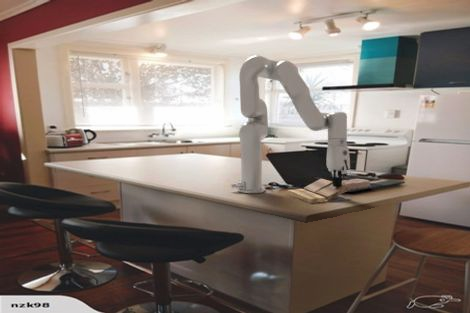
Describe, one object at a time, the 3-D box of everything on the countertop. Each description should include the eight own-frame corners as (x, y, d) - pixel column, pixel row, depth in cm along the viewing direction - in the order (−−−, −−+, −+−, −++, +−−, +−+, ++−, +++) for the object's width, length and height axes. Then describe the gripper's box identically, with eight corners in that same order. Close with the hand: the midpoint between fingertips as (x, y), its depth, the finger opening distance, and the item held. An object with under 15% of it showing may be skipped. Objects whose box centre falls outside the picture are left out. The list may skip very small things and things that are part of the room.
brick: (356, 186, 170) (356, 177, 170) (371, 189, 163) (371, 179, 162) (331, 190, 162) (332, 180, 161) (346, 194, 155) (346, 183, 154)
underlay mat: (309, 203, 137) (309, 203, 137) (287, 194, 154) (287, 193, 154) (350, 199, 144) (350, 198, 144) (325, 190, 161) (325, 190, 161)
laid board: (309, 203, 137) (310, 198, 137) (287, 194, 154) (287, 189, 154) (327, 201, 140) (327, 197, 140) (303, 192, 157) (303, 188, 157)
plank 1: (315, 195, 149) (314, 191, 148) (304, 191, 157) (303, 188, 156) (333, 184, 152) (332, 181, 151) (322, 181, 160) (321, 178, 159)
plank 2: (328, 200, 140) (327, 196, 140) (316, 195, 148) (315, 192, 148) (348, 190, 143) (347, 187, 143) (335, 186, 151) (334, 183, 151)
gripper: (357, 142, 138) (356, 188, 140) (333, 141, 152) (333, 182, 154) (341, 144, 135) (341, 190, 137) (318, 142, 149) (319, 184, 151)
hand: (337, 186), depth 146 cm, fingers closed
